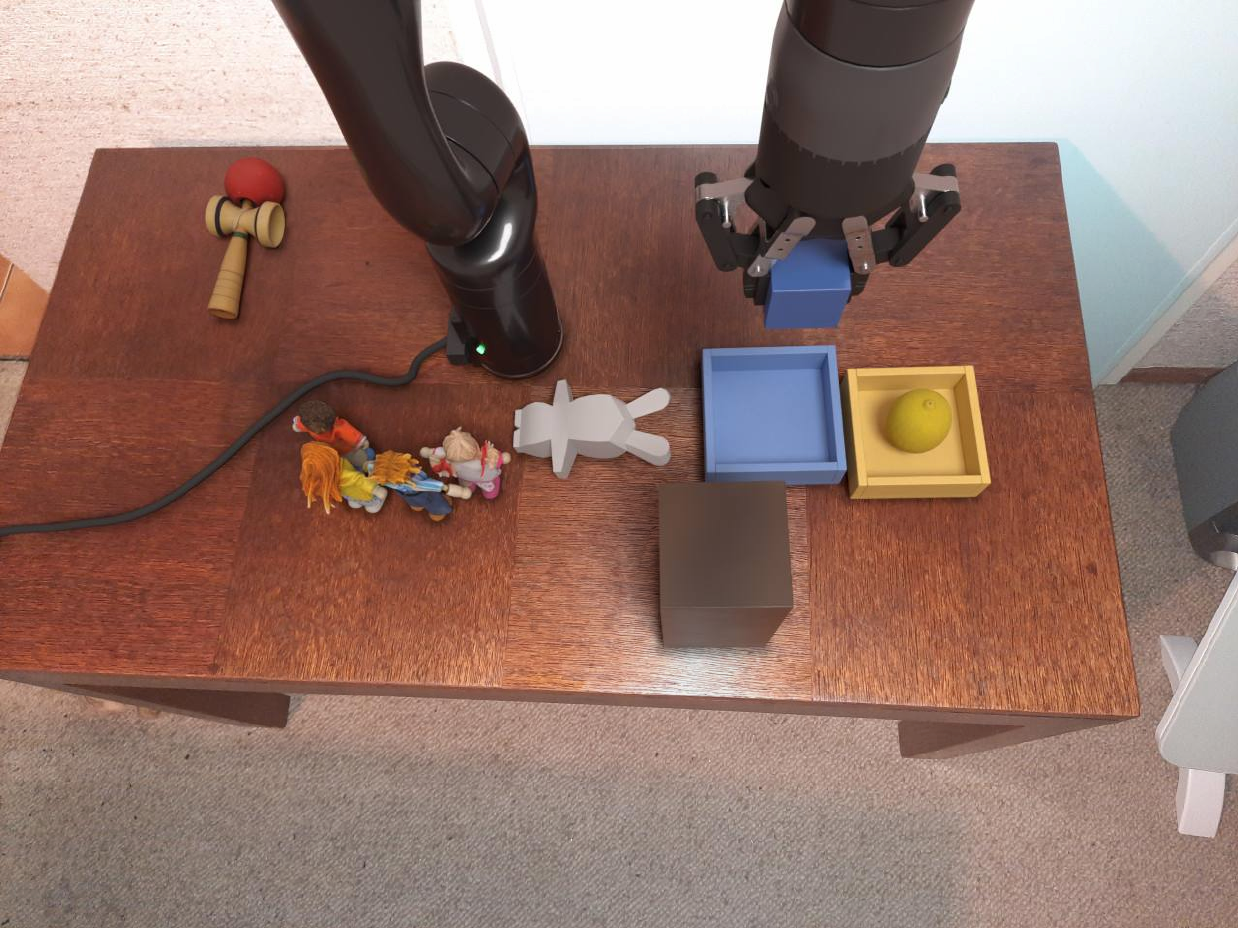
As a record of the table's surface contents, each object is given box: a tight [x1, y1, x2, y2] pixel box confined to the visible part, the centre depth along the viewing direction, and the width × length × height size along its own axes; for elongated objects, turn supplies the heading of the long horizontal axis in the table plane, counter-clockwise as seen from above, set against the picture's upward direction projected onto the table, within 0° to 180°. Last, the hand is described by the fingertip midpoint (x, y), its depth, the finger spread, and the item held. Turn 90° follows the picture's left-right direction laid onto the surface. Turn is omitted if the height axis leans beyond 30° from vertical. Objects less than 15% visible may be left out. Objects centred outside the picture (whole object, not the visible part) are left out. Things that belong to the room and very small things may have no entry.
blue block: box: [762, 238, 851, 330], centre depth 52 cm, size 4×4×4 cm
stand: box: [657, 481, 795, 649], centre depth 69 cm, size 9×9×20 cm
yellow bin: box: [839, 365, 992, 500], centre depth 80 cm, size 12×12×4 cm
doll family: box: [292, 399, 512, 522], centre depth 77 cm, size 21×10×13 cm, turn 77°
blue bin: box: [700, 344, 847, 486], centre depth 82 cm, size 13×13×4 cm
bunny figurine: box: [512, 378, 672, 480], centre depth 82 cm, size 10×5×15 cm
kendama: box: [204, 156, 286, 320], centre depth 92 cm, size 8×6×18 cm
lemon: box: [886, 388, 952, 454], centre depth 78 cm, size 6×6×8 cm
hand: (799, 291), depth 53 cm, fingers closed on blue block, 4 cm apart
